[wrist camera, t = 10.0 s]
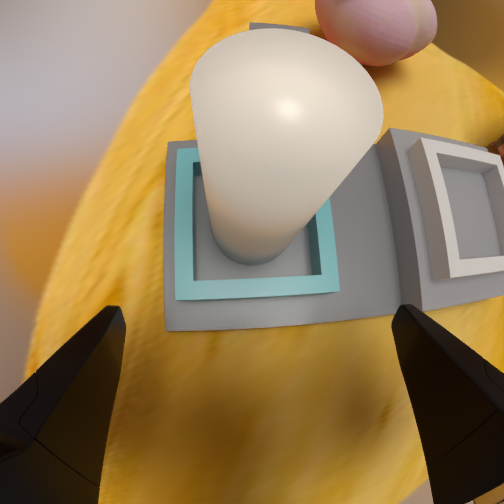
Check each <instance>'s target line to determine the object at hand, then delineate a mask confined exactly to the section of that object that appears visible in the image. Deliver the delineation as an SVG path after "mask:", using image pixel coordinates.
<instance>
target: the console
mask: <svg viewBox="0 0 504 504" xmlns="http://www.w3.org/2000/svg"><path fill="white" fill-rule="evenodd" d="M502 295H504V166H503V163H502V160H501V157H500V155H496V154H493V153H489V152H488V150H487V148H485V147H481V146H477V145H473V144H469V143H465V142H461V141H457V140H452V139H448V138H443V137H439V136H434V135H429V134H423V133H418V132H412V131H407V130H400V129H394V128H389V129H388V130H387V131H386V133H385V134H384V135H383V136H382V137H381V139H380V140H379V141H378V142H377V143H376V145H374V144H373V145H372V146H371V147H370V149H369V150H368V151H367V152H366V153H365V155H364V156H363V157H362V158H361V160H360V161H359V162H358V163H357V164H356V166H355V167H354V168H353V169H352V171H351V172H350V173H349V174H348V175H347V177H346V178H345V179H344V180H343V181H342V183H341V184H340V185H339V186H338V187H337V189H336V190H335V191H334V192H333V193H332V195H331V196H330V197H329V198H328V199H327V201H326V202H325V203H324V204H323V205H322V207H321V208H320V209H319V210H318V211H317V212H316V214H315V215H314V216H313V217H312V218H311V220H310V221H309V222H308V223H307V224H306V225H305V227H304V228H303V229H302V230H301V231H300V232H299V234H298V235H297V236H296V237H295V238H294V240H293V241H292V242H291V243H290V244H289V245H288V247H287V248H286V249H285V250H284V251H283V252H282V253H281V254H280V255H279V256H278V257H277V258H275V259H274V260H272V261H270V262H268V263H265V264H260V265H245V264H241V263H238V262H235V261H233V260H231V259H230V258H228V257H227V256H226V255H225V254H224V253H223V252H222V251H221V250H220V249H219V247H218V246H217V244H216V242H215V240H214V238H213V234H212V229H211V223H210V217H209V211H208V206H207V200H206V194H205V188H204V182H203V176H202V169H201V163H200V157H199V150H198V144H197V140H189V141H174V142H168V147H167V162H166V179H165V202H164V305H165V329H166V331H203V330H230V329H249V328H266V327H280V326H292V325H304V324H315V323H325V322H334V321H343V320H352V319H360V318H368V317H376V316H383V315H390V314H396V312H397V309H398V307H399V306H400V305H402V304H412V305H413V306H415V307H416V308H418V309H419V310H420V311H422V312H423V311H429V310H435V309H440V308H446V307H451V306H456V305H461V304H466V303H471V302H475V301H480V300H485V299H489V298H493V297H498V296H502Z"/></svg>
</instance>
